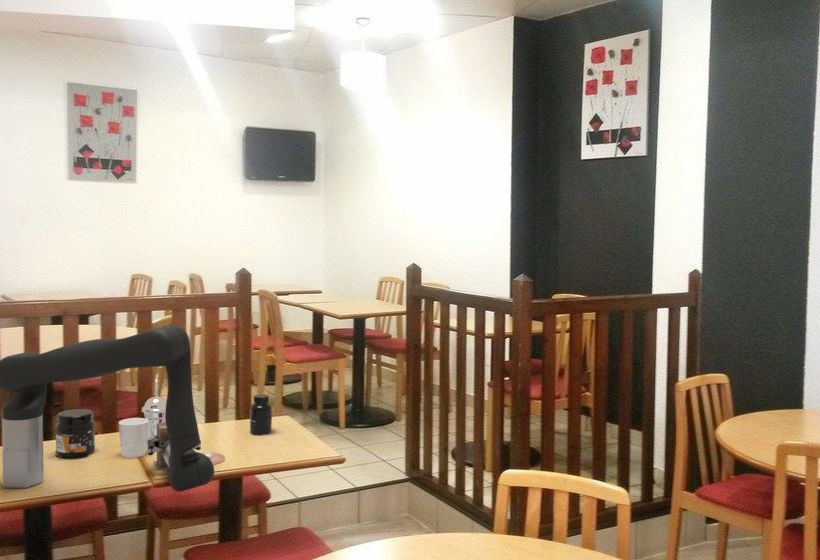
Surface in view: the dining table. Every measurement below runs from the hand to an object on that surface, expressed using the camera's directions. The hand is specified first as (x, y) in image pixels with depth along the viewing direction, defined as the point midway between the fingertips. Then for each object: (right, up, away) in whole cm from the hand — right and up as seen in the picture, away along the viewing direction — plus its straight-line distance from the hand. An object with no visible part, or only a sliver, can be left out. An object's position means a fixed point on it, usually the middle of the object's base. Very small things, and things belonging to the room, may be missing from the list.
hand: (169, 438), depth 216 cm
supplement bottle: (+19, -5, +33) cm, 39 cm away
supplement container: (-29, -6, +8) cm, 31 cm away
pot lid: (+10, -7, +2) cm, 12 cm away
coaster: (+1, -7, -2) cm, 7 cm away
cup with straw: (-11, -5, +22) cm, 25 cm away
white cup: (-12, -7, +7) cm, 15 cm away
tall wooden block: (+1, -7, -2) cm, 7 cm away
